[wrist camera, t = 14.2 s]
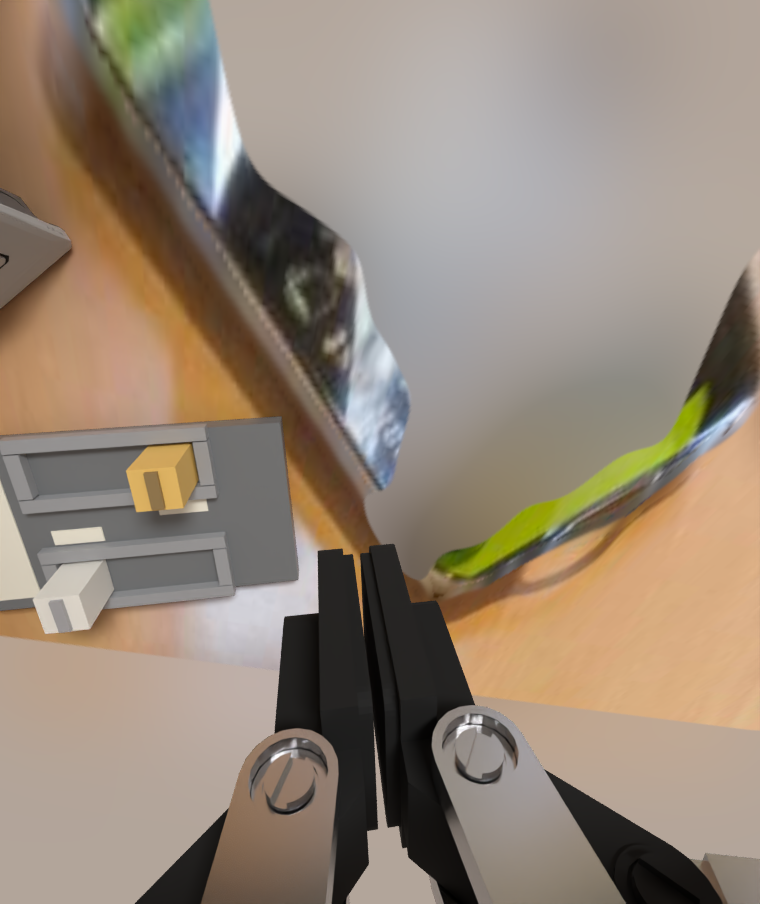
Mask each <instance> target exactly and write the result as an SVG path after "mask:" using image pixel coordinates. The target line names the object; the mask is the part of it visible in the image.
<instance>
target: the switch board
mask: <svg viewBox="0 0 760 904" xmlns="http://www.w3.org/2000/svg"><path fill="white" fill-rule="evenodd" d="M188 442H192V447H193V452H194V457H195V462H196V467H197V473H198V478H199V480H198V482H197V484H196V486H195V488H194V490H193V492H192V493H191V495H190V497H189V499H188V501H187V503H186V505H185V507H184V508H180V509H169V510H157V511H145V512H136V509H135V505H134V501H133V497H132V493H131V489H130V485H129V481H128V477H127V473H126V470H127V469H128V468H129V467H130V465H131V464H132V463H133V462H134V461H135V460H136V459H137V458H138V457H139V456H140V454H141V453H142V452H143V451H144V450H145V449H146V448H147V447H148V446H149V445H161V444H175V443H188ZM103 559H106V563H107V566H108V570H109V573H110V576H111V580H112V583H113V587H114V591H113V592H112V594H111V595H110V597H109V599H108V600H107V602H106V604H105V605H104V607H103V609H111V608H121V607H130V606H140V605H149V604H159V603H168V602H178V601H187V600H197V599H206V598H216V597H225V596H234V595H235V591H236V587H235V586H244V585H254V584H263V583H273V582H283V581H292V580H298V577H299V566H298V557H297V548H296V539H295V531H294V522H293V513H292V504H291V496H290V487H289V478H288V469H287V461H286V452H285V443H284V434H283V425H282V417H266V418H251V419H237V420H222V421H207V422H192V423H177V424H163V425H148V426H133V427H118V428H103V429H89V430H74V431H59V432H44V433H29V434H15V435H0V611H3V610H12V609H22V608H31V607H35V605H34V602H33V598H34V597H35V596H36V595H37V594H38V593H39V591H40V590H41V589H42V588H43V587H44V585H45V584H46V583H47V582H48V581H49V579H50V578H51V577H52V576H53V575H54V573H55V572H56V571H57V570H58V569H59V567H60V566H61V565H62V564H63V563H71V562H82V561H92V560H103Z"/></svg>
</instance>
